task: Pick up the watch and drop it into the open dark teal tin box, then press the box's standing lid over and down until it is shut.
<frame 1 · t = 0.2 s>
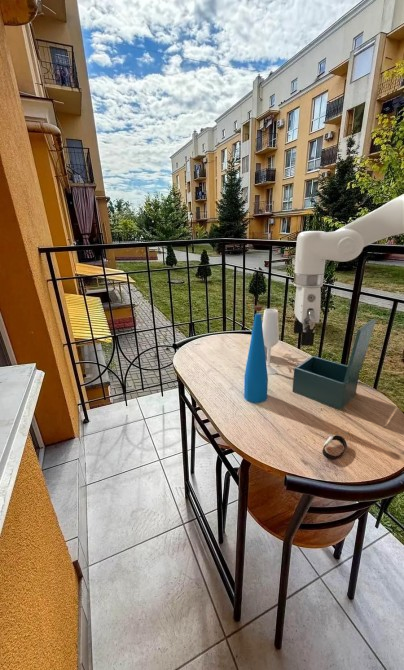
hand: (302, 338, 81), 21 cm above the table, tool pointing down, fingers open, 9 cm apart
house plant: (264, 355, 121), on the table
champagne flute: (268, 371, 108), on the table
watch: (333, 452, 68), on the table
tin box: (323, 392, 92), on the table
lid: (359, 350, 80), point 17 cm above the table, hinge at 95.0°
bottle: (255, 397, 92), on the table
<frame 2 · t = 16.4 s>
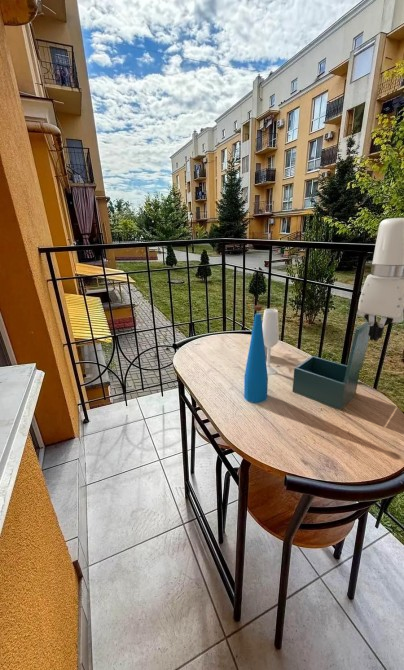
hand: (374, 339, 77), 22 cm above the table, tool pointing down, fingers closed
watch: (320, 389, 93), point 1 cm above the table, touching tin box
lid: (358, 350, 80), point 17 cm above the table, hinge at 93.3°, touching gripper
everything else where it was.
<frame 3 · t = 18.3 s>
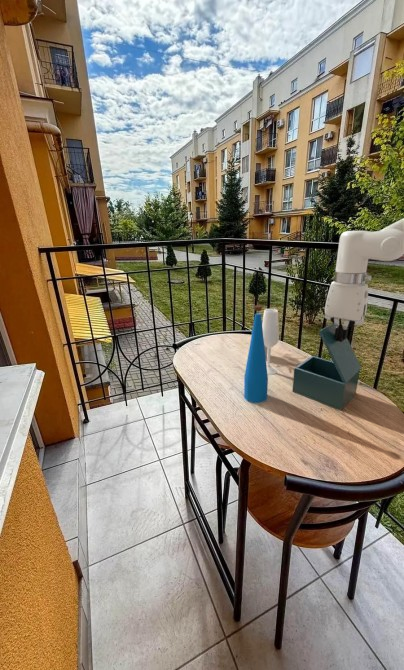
hand: (340, 340, 83), 19 cm above the table, tool pointing down, fingers closed
lid: (340, 350, 84), point 16 cm above the table, hinge at 57.4°, touching gripper
everything else where it was.
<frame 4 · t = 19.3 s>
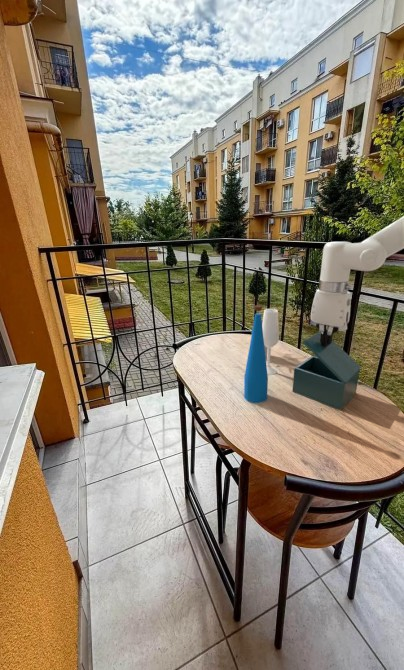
hand: (325, 345, 87), 17 cm above the table, tool pointing down, fingers closed
lid: (332, 354, 87), point 14 cm above the table, hinge at 34.5°, touching gripper
everything else where it was.
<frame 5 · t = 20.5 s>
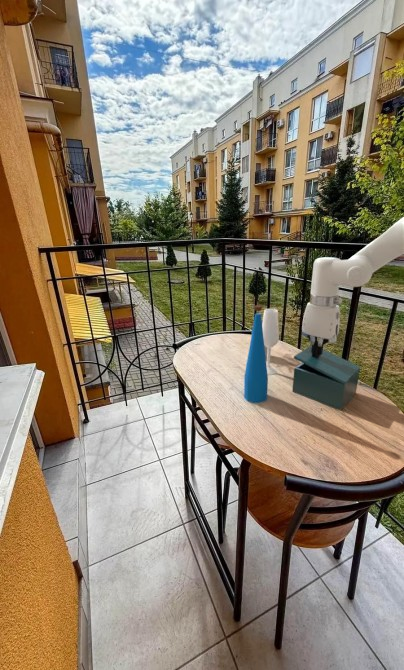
hand: (316, 355, 90), 12 cm above the table, tool pointing down, fingers closed
lid: (326, 362, 89), point 11 cm above the table, hinge at 11.6°, touching gripper
everything else where it was.
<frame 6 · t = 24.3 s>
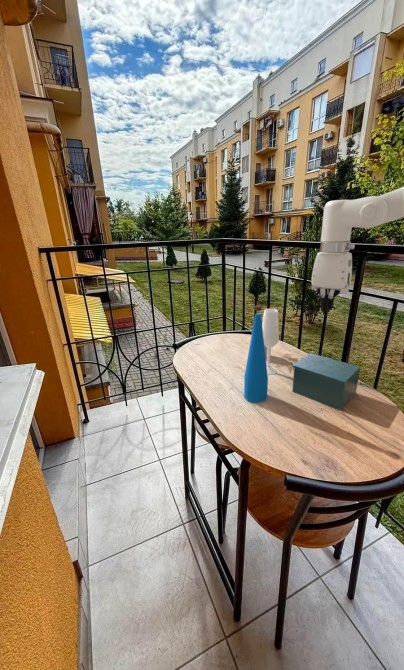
hand: (326, 310, 86), 27 cm above the table, tool pointing down, fingers closed
lid: (325, 367, 89), point 9 cm above the table, hinge at -0.2°, touching tin box
everything else where it was.
at the end: watch inside the target area in the tin box (1.2 cm from its centre), point 0.6 cm above the tin box's base; lid at +0° (first picture: +95°) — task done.
